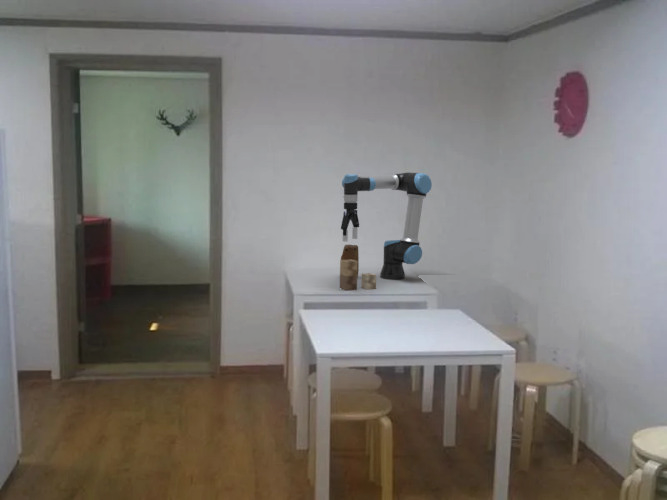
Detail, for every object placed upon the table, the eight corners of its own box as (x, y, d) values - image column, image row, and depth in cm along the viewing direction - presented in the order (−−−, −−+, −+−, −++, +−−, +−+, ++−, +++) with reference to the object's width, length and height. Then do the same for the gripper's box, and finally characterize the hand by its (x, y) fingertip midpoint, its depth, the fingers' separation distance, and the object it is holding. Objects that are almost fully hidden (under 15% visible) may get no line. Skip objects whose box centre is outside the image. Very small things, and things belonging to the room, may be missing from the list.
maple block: (370, 286, 411) (370, 273, 410) (375, 288, 406) (376, 274, 405) (361, 287, 408) (361, 273, 407) (366, 289, 403) (367, 275, 402)
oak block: (351, 273, 407) (351, 259, 406) (357, 275, 401) (357, 261, 400) (340, 274, 404) (340, 260, 403) (346, 276, 398) (346, 261, 396)
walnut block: (350, 287, 408) (351, 273, 407) (356, 289, 402) (357, 275, 401) (339, 288, 405) (340, 274, 404) (345, 290, 399) (346, 276, 398)
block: (357, 276, 444) (358, 244, 441) (358, 278, 436) (359, 246, 434) (339, 276, 443) (340, 244, 440) (340, 278, 436) (341, 245, 433)
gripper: (353, 200, 415) (352, 237, 418) (335, 203, 393) (334, 242, 396) (365, 201, 412) (364, 238, 415) (347, 203, 390) (347, 242, 393)
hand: (350, 240), depth 405 cm, fingers open, 13 cm apart
